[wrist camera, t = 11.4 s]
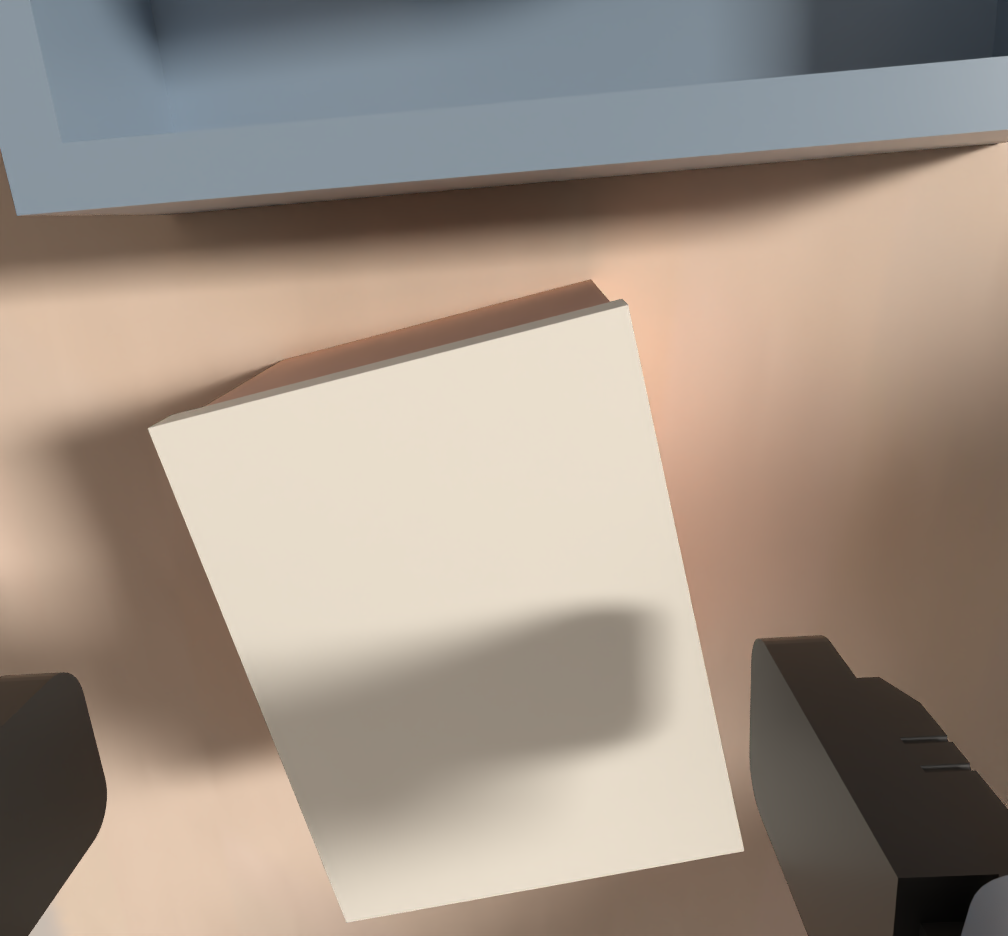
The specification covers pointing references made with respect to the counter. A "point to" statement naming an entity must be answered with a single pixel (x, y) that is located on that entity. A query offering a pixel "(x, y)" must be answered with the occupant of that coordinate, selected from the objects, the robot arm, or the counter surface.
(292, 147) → the box
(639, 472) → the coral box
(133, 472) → the counter surface
